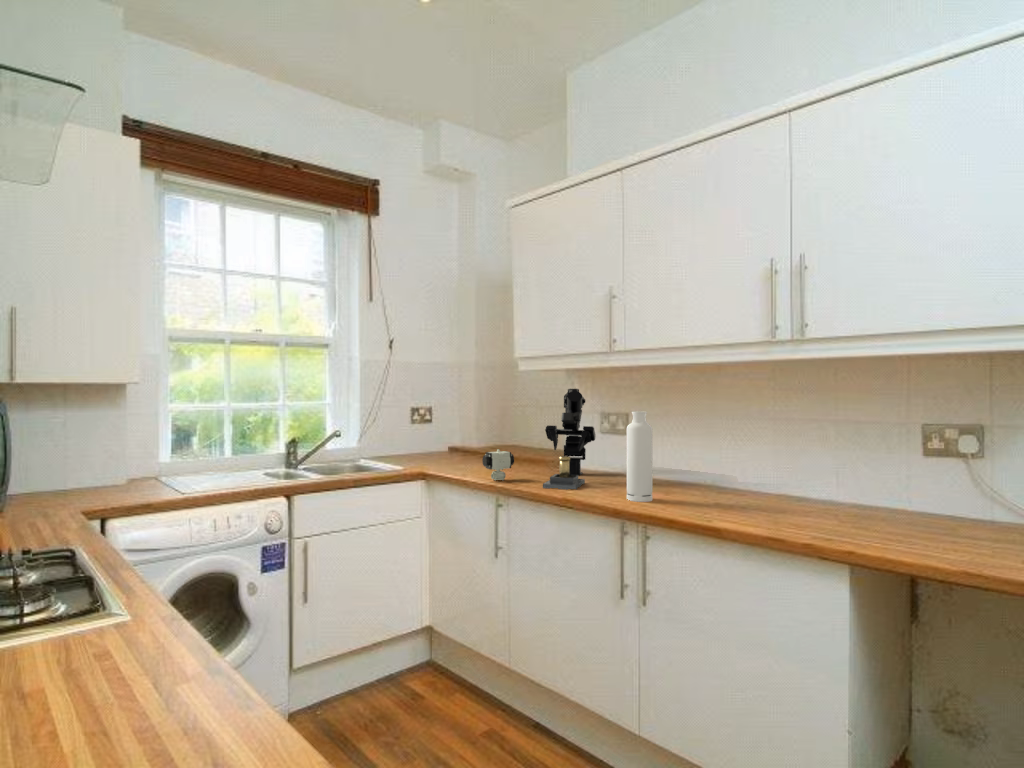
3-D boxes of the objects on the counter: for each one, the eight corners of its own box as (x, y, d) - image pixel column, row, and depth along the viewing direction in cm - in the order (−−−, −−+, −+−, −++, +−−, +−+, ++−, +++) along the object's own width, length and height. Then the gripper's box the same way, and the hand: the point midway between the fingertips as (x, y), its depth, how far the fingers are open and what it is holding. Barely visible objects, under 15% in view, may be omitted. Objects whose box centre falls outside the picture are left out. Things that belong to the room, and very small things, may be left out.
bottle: (628, 496, 188) (628, 411, 188) (653, 498, 185) (653, 411, 186) (624, 500, 180) (624, 412, 180) (651, 502, 177) (651, 412, 178)
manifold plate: (553, 481, 219) (553, 472, 219) (584, 483, 215) (584, 473, 215) (542, 488, 204) (542, 478, 204) (575, 489, 200) (575, 479, 200)
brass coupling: (560, 480, 212) (560, 456, 213) (571, 480, 211) (571, 456, 211) (557, 481, 208) (557, 457, 209) (568, 482, 207) (568, 457, 207)
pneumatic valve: (482, 480, 222) (482, 449, 222) (509, 478, 227) (509, 448, 227) (487, 482, 217) (487, 450, 217) (515, 480, 222) (515, 449, 222)
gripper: (546, 404, 222) (538, 435, 212) (594, 405, 216) (588, 436, 206) (551, 423, 230) (544, 454, 219) (597, 424, 224) (592, 456, 213)
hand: (566, 449), depth 214 cm, fingers open, 9 cm apart
